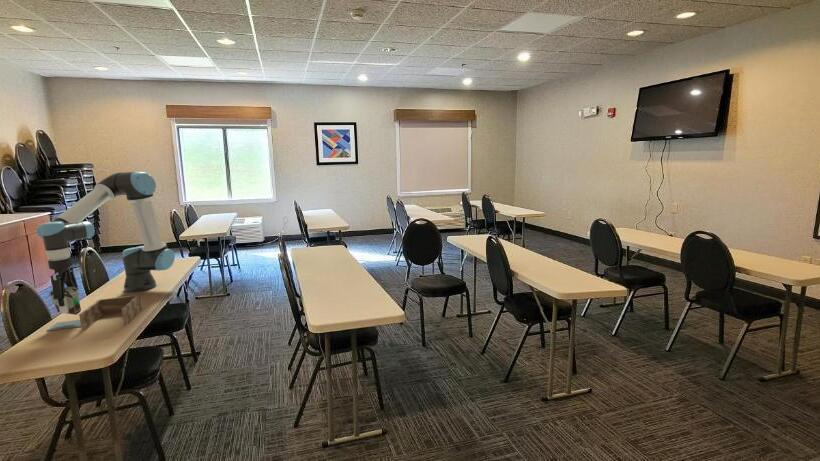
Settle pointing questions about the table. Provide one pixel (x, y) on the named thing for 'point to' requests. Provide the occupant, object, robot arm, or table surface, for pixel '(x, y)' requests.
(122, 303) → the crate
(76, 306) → the food container
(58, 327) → the pad
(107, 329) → the table surface
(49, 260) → the robot arm
